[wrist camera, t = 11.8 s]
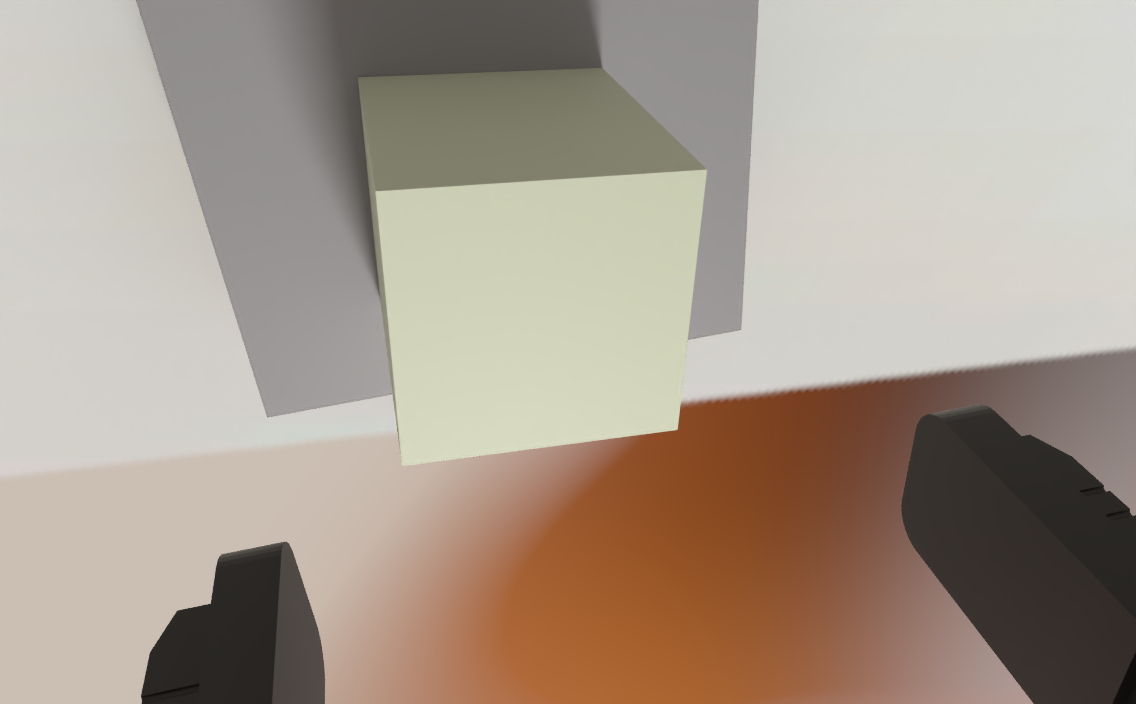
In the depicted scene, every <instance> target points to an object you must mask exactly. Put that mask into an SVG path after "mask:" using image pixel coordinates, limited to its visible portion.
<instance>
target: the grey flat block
mask: <svg viewBox="0 0 1136 704" xmlns="http://www.w3.org/2000/svg"><path fill="white" fill-rule="evenodd" d="M136 1H137V4H138V7H139V11H140V14H141V17H142V20H143V23H144V26H145V30H146V33H147V36H148V39H149V42H150V46H151V49H152V52H153V55H154V58H155V61H156V65H157V68H158V71H159V74H160V77H161V81H162V84H163V87H164V90H165V93H166V97H167V100H168V103H169V106H170V109H171V112H172V116H173V119H174V122H175V125H176V128H177V132H178V135H179V138H180V141H181V144H182V147H183V151H184V154H185V157H186V160H187V163H188V167H189V170H190V173H191V176H192V179H193V183H194V186H195V189H196V192H197V195H198V198H199V202H200V205H201V208H202V211H203V214H204V218H205V221H206V224H207V227H208V230H209V233H210V237H211V240H212V243H213V246H214V249H215V253H216V256H217V259H218V262H219V265H220V268H221V272H222V275H223V278H224V281H225V284H226V288H227V291H228V294H229V297H230V300H231V304H232V307H233V310H234V313H235V316H236V319H237V323H238V326H239V329H240V332H241V335H242V339H243V342H244V345H245V348H246V351H247V354H248V358H249V361H250V364H251V367H252V370H253V374H254V377H255V380H256V383H257V386H258V389H259V393H260V396H261V399H262V402H263V405H264V409H265V412H266V415H267V417H272V416H278V415H283V414H289V413H294V412H299V411H305V410H310V409H316V408H321V407H327V406H332V405H337V404H343V403H348V402H354V401H359V400H364V399H370V398H375V397H381V396H386V395H391V394H393V393H392V386H391V378H390V370H389V363H388V355H387V348H386V340H385V332H384V325H383V317H382V310H381V302H380V293H379V283H378V273H377V263H376V253H375V243H374V233H373V223H372V213H371V204H370V194H369V184H368V174H367V164H366V154H365V144H364V134H363V124H362V114H361V104H360V94H359V84H358V77H377V76H403V75H429V74H455V73H481V72H507V71H532V70H558V69H584V68H603V69H604V70H605V71H606V72H607V73H608V74H609V75H610V76H611V77H612V78H613V79H614V80H615V81H616V82H617V83H618V84H619V85H620V86H621V87H623V88H624V89H625V90H626V91H627V92H628V93H629V94H630V95H631V96H632V97H633V98H634V99H635V100H636V101H637V102H638V103H639V104H640V105H641V106H642V107H643V108H644V109H645V110H646V111H647V112H648V113H649V114H650V115H651V116H652V117H653V118H654V119H656V120H657V121H658V122H659V123H660V124H661V125H662V126H663V127H664V128H665V129H666V130H667V131H668V132H669V133H670V134H671V135H672V136H673V137H674V138H675V139H676V140H677V141H678V142H679V143H680V144H681V145H682V146H683V147H684V148H685V149H686V150H687V151H688V152H690V153H691V154H692V155H693V156H694V157H695V158H696V159H697V160H698V161H699V162H700V163H701V164H702V165H703V166H704V167H705V168H706V169H707V175H706V184H705V193H704V201H703V210H702V219H701V228H700V236H699V245H698V254H697V263H696V271H695V280H694V289H693V298H692V306H691V315H690V324H689V333H688V340H689V339H695V338H700V337H706V336H711V335H716V334H722V333H727V332H733V331H738V330H741V323H742V304H743V285H744V266H745V247H746V228H747V209H748V190H749V171H750V152H751V133H752V115H753V96H754V77H755V58H756V39H757V20H758V1H759V0H136Z"/></svg>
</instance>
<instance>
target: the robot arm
mask: <svg viewBox="0 0 1136 704" xmlns="http://www.w3.org/2000/svg"><path fill="white" fill-rule="evenodd" d="M902 517H903V522H904V526H905V529H906V532H907V534H908V537H909V539H910V541H911V543H912V545H913V546H914V548H915V550H916V551H917V552H918V554H919V555H920V556H921V558H922V559H923V560H924V561H925V563H926V564H927V565H928V567H929V568H930V569H931V571H932V572H933V573H934V574H935V576H936V577H937V578H938V580H939V581H940V582H941V584H942V585H943V586H944V587H945V589H946V590H947V591H948V593H949V594H950V595H951V597H952V598H953V599H954V600H955V602H956V603H957V604H958V606H959V607H960V608H961V610H962V611H963V612H964V613H965V615H966V616H967V617H968V618H969V620H970V621H971V623H972V624H973V625H974V626H975V628H976V629H977V630H978V632H979V633H980V634H981V635H982V637H983V638H984V639H985V641H986V642H987V643H988V645H989V646H990V647H991V649H992V650H993V651H994V652H995V654H996V655H997V656H998V657H999V659H1000V660H1001V662H1002V663H1003V664H1004V665H1005V667H1006V668H1007V669H1008V671H1009V672H1010V673H1011V674H1012V676H1013V677H1014V678H1015V680H1016V681H1017V682H1018V684H1019V685H1020V686H1021V688H1022V689H1023V690H1024V691H1025V693H1026V694H1027V695H1028V697H1029V698H1030V699H1031V701H1032V702H1033V703H1034V704H1136V515H1135V516H1132V515H1131V513H1130V509H1129V508H1128V507H1127V506H1126V505H1125V504H1124V503H1123V502H1122V501H1120V500H1119V499H1118V498H1117V497H1116V496H1115V495H1114V494H1113V493H1111V491H1108V492H1106V491H1105V490H1104V485H1103V484H1102V483H1101V482H1099V481H1098V480H1097V479H1096V478H1095V477H1094V476H1093V475H1092V474H1090V473H1089V472H1088V471H1087V470H1086V469H1085V468H1084V467H1083V466H1082V465H1081V464H1079V463H1078V462H1077V461H1076V460H1075V459H1074V458H1073V457H1072V456H1070V455H1068V454H1066V453H1064V452H1062V451H1060V450H1058V449H1056V448H1054V447H1052V446H1051V445H1049V444H1047V443H1045V442H1043V441H1041V440H1039V439H1037V438H1035V437H1033V436H1031V435H1026V436H1021V435H1020V434H1018V433H1017V432H1016V431H1015V430H1014V429H1013V428H1012V427H1011V426H1010V425H1009V424H1008V423H1007V422H1006V421H1005V420H1004V419H1002V418H1001V417H1000V416H999V415H998V414H997V413H996V412H995V411H994V410H992V409H991V408H989V407H988V406H985V405H982V404H977V405H972V406H968V407H962V408H957V409H952V410H948V411H943V412H938V413H933V414H928V415H925V416H923V417H922V418H921V419H920V421H919V423H918V424H917V428H916V432H915V437H914V443H913V448H912V453H911V458H910V462H909V467H908V472H907V478H906V483H905V488H904V493H903V498H902ZM141 698H142V704H325V673H324V661H323V653H322V646H321V640H320V636H319V631H318V628H317V624H316V621H315V618H314V615H313V612H312V609H311V606H310V603H309V600H308V597H307V594H306V591H305V588H304V585H303V581H302V578H301V575H300V572H299V570H298V566H297V564H296V560H295V557H294V554H293V551H292V549H291V547H290V545H289V543H287V542H281V543H276V544H271V545H266V546H262V547H256V548H252V549H247V550H241V551H237V552H231V553H226V554H222V555H221V556H220V557H219V559H218V562H217V566H216V572H215V580H214V586H213V593H212V600H211V604H208V605H202V606H198V607H193V608H188V609H183V610H179V611H177V612H176V614H175V615H174V617H173V618H172V620H171V621H170V623H169V624H168V626H167V627H166V629H165V631H164V632H163V633H162V635H161V637H160V638H159V640H158V641H157V643H156V644H155V646H154V647H153V649H152V650H151V652H150V655H149V660H148V665H147V670H146V675H145V680H144V684H143V689H142V694H141Z"/></svg>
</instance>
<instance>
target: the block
mask: <svg viewBox="0 0 1136 704" xmlns="http://www.w3.org/2000/svg"><path fill="white" fill-rule="evenodd" d="M358 84H359V94H360V104H361V114H362V124H363V134H364V144H365V154H366V164H367V174H368V184H369V194H370V204H371V213H372V223H373V233H374V243H375V253H376V263H377V273H378V283H379V293H380V302H381V310H382V317H383V325H384V332H385V340H386V348H387V355H388V363H389V370H390V378H391V386H392V393H393V401H394V408H395V416H396V424H397V431H398V439H399V446H400V454H401V461H402V466H405V465H413V464H421V463H429V462H436V461H444V460H452V459H459V458H467V457H474V456H482V455H489V454H497V453H505V452H512V451H520V450H527V449H535V448H543V447H550V446H557V445H565V444H573V443H581V442H588V441H596V440H603V439H610V438H619V437H626V436H634V435H641V434H648V433H656V432H664V431H671V430H677V429H678V420H679V412H680V403H681V394H682V385H683V377H684V368H685V359H686V350H687V342H688V333H689V324H690V315H691V306H692V298H693V289H694V280H695V271H696V263H697V254H698V245H699V236H700V228H701V219H702V210H703V201H704V193H705V184H706V175H707V169H706V168H705V167H704V166H703V165H702V164H701V163H700V162H699V161H698V160H697V159H696V158H695V157H694V156H693V155H692V154H691V153H690V152H688V151H687V150H686V149H685V148H684V147H683V146H682V145H681V144H680V143H679V142H678V141H677V140H676V139H675V138H674V137H673V136H672V135H671V134H670V133H669V132H668V131H667V130H666V129H665V128H664V127H663V126H662V125H661V124H660V123H659V122H658V121H657V120H656V119H654V118H653V117H652V116H651V115H650V114H649V113H648V112H647V111H646V110H645V109H644V108H643V107H642V106H641V105H640V104H639V103H638V102H637V101H636V100H635V99H634V98H633V97H632V96H631V95H630V94H629V93H628V92H627V91H626V90H625V89H624V88H623V87H621V86H620V85H619V84H618V83H617V82H616V81H615V80H614V79H613V78H612V77H611V76H610V75H609V74H608V73H607V72H606V71H605V70H604V69H603V68H584V69H558V70H532V71H507V72H481V73H455V74H429V75H403V76H377V77H358Z"/></svg>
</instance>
